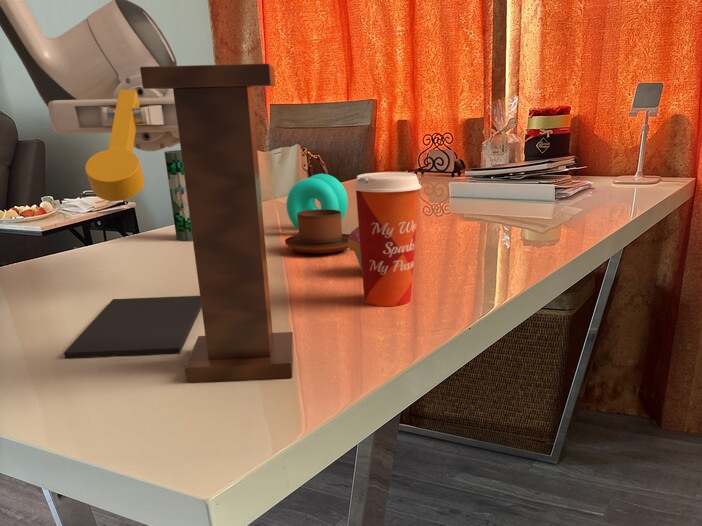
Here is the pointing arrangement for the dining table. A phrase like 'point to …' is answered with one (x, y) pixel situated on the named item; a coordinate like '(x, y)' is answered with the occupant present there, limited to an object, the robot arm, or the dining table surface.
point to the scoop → (118, 156)
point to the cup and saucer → (319, 232)
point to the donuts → (316, 196)
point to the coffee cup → (387, 235)
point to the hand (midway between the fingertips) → (124, 116)
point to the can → (178, 195)
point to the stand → (226, 220)
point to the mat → (138, 327)
